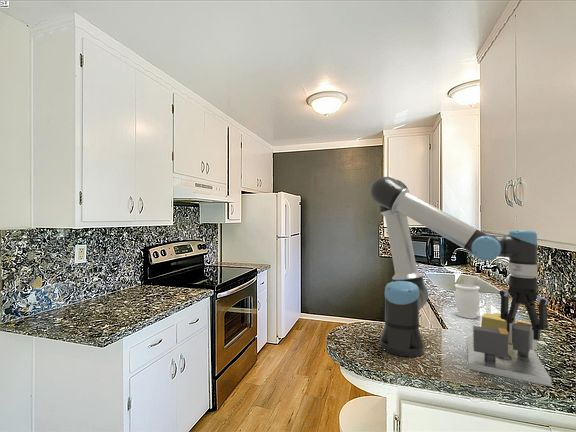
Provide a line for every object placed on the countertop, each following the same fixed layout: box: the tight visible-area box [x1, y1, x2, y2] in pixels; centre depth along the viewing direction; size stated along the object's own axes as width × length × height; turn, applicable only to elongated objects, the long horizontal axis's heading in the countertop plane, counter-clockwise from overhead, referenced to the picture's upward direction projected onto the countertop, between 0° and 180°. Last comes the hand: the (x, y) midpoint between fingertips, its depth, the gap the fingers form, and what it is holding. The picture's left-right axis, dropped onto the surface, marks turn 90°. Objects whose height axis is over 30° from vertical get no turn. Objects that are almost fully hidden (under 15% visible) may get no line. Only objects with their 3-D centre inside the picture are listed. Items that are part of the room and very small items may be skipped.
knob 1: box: [472, 325, 508, 362], centre depth 98 cm, size 9×4×10 cm, turn 61°
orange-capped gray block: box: [513, 319, 532, 357], centre depth 101 cm, size 9×4×10 cm, turn 135°
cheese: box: [480, 312, 516, 345], centre depth 118 cm, size 10×11×10 cm
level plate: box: [466, 337, 552, 387], centre depth 101 cm, size 20×24×3 cm
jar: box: [454, 283, 481, 319], centre depth 150 cm, size 11×10×15 cm
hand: (522, 345), depth 101 cm, fingers closed on orange-capped gray block, 5 cm apart
